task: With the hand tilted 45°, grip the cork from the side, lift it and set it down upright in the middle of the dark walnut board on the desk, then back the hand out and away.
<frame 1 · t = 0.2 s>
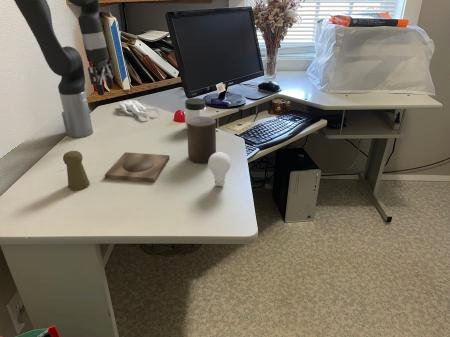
hand: (106, 91, 129), 18 cm above the table, tool pointing down, fingers open, 8 cm apart
pillar candle: (202, 158, 120), on the table
walnut board: (139, 168, 113), on the table
cork: (79, 186, 103), on the table
jar: (196, 129, 144), on the table
superhero figure: (136, 114, 161), on the table
light bulb: (219, 186, 103), on the table
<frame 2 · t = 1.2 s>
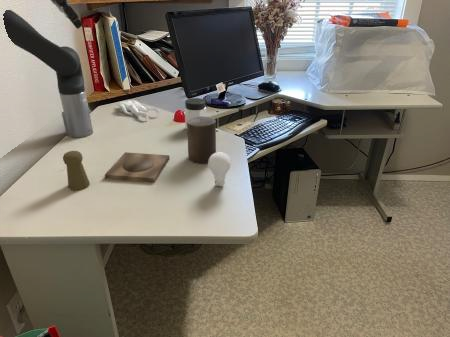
hand: (78, 23, 99), 43 cm above the table, tool tilted 35°, fingers open, 8 cm apart
nothing on the table moved.
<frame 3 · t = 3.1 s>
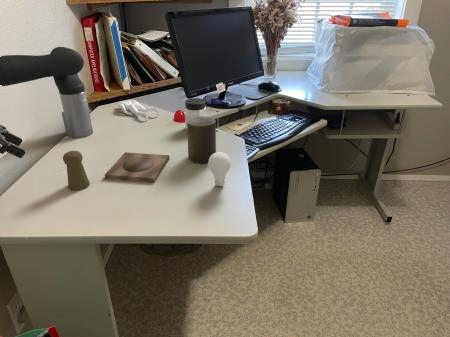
hand: (22, 148, 91), 15 cm above the table, tool tilted 45°, fingers open, 8 cm apart
nothing on the table moved.
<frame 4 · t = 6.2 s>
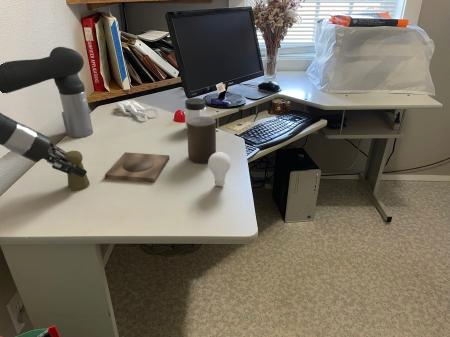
hand: (82, 170, 102), 5 cm above the table, tool tilted 45°, fingers closed on cork, 4 cm apart
cork: (79, 185, 103), on the table, touching gripper
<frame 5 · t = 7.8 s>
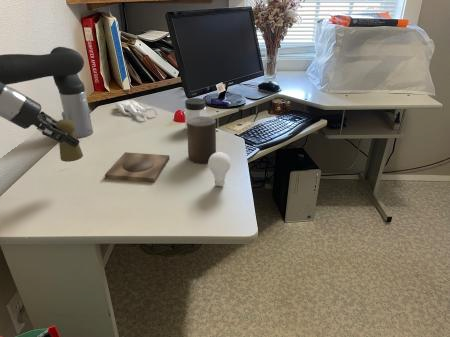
hand: (75, 140, 97), 14 cm above the table, tool tilted 45°, fingers closed on cork, 4 cm apart
cork: (72, 157, 99), point 10 cm above the table, touching gripper
when the fingers open (7 cm above the table, at t = 11.5 s): cork stays where it is, resting on walnut board.
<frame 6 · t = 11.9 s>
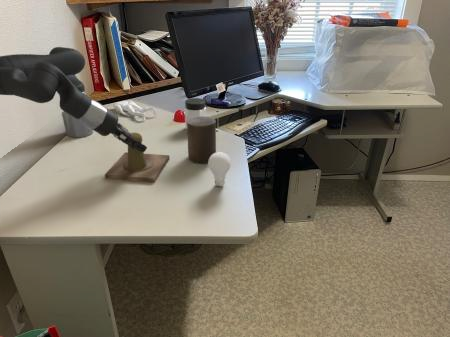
hand: (140, 145, 110), 8 cm above the table, tool tilted 45°, fingers open, 8 cm apart
cork: (137, 166, 111), point 2 cm above the table, touching walnut board
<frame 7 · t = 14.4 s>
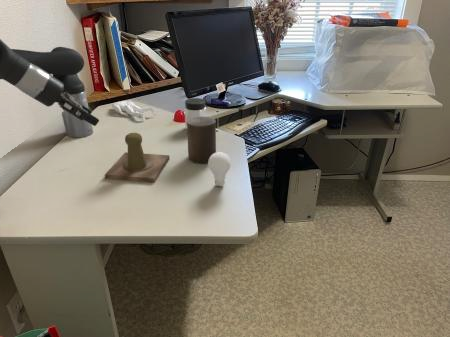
hand: (93, 118, 99), 19 cm above the table, tool tilted 45°, fingers open, 8 cm apart
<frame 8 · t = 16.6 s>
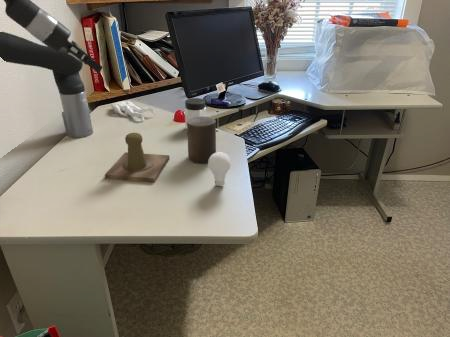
hand: (97, 67, 107), 31 cm above the table, tool tilted 45°, fingers open, 8 cm apart
at the end: cork inside the target area on the walnut board (1.3 cm from its centre), point 1.5 cm above the walnut board's base; cork tilted 0°; the gripper is holding nothing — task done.
